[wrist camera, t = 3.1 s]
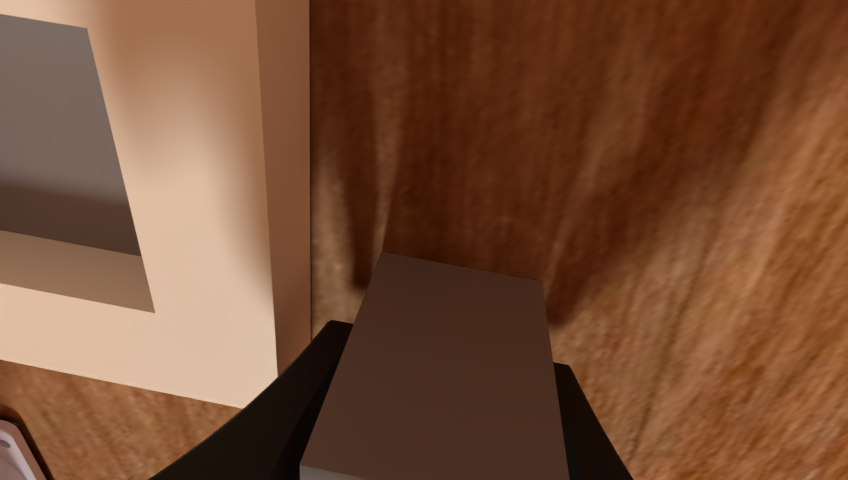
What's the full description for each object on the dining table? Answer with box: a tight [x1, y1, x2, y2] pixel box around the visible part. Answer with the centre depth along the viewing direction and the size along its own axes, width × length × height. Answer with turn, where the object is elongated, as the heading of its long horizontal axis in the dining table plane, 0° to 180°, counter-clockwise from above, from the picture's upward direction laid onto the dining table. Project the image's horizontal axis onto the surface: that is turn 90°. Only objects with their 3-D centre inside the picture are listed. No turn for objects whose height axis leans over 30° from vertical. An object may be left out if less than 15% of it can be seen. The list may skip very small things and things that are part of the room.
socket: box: [0, 0, 311, 408], centre depth 10 cm, size 12×12×3 cm
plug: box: [300, 252, 569, 480], centre depth 10 cm, size 4×4×6 cm
